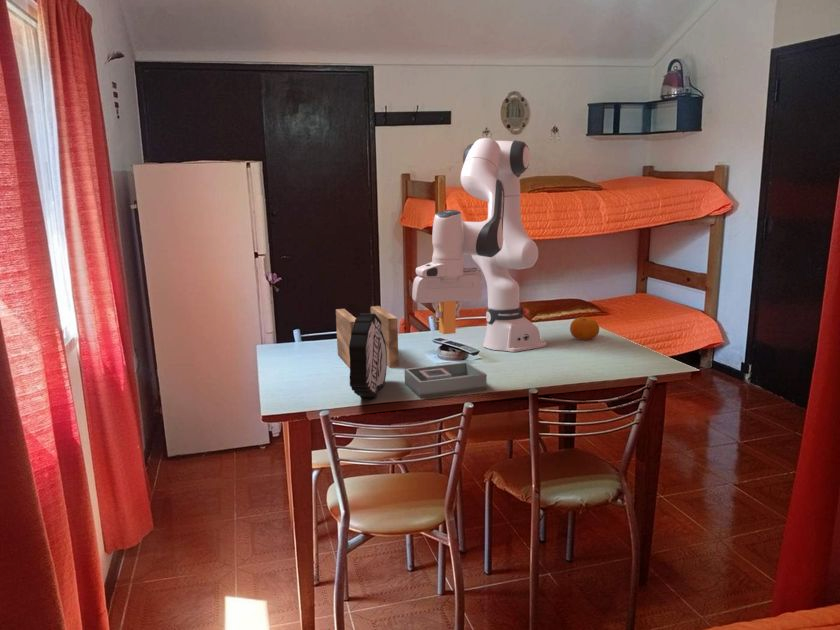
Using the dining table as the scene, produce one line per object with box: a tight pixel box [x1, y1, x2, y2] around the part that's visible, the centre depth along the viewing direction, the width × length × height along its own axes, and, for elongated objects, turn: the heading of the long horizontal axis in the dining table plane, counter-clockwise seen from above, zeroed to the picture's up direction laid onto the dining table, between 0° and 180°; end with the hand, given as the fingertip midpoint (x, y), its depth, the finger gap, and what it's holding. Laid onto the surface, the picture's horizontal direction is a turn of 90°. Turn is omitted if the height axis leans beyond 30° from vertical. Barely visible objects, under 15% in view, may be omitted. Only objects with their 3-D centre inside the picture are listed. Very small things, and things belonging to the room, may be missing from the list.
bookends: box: [335, 305, 399, 369], centre depth 222 cm, size 15×22×16 cm
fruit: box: [569, 316, 600, 341], centre depth 246 cm, size 10×10×8 cm
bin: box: [403, 361, 488, 399], centre depth 194 cm, size 20×14×4 cm
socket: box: [419, 368, 452, 381], centre depth 193 cm, size 7×7×4 cm
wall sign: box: [349, 312, 388, 399], centre depth 186 cm, size 22×4×30 cm
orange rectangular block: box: [438, 301, 457, 335], centre depth 191 cm, size 4×4×10 cm
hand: (447, 317), depth 191 cm, fingers closed on orange rectangular block, 4 cm apart
